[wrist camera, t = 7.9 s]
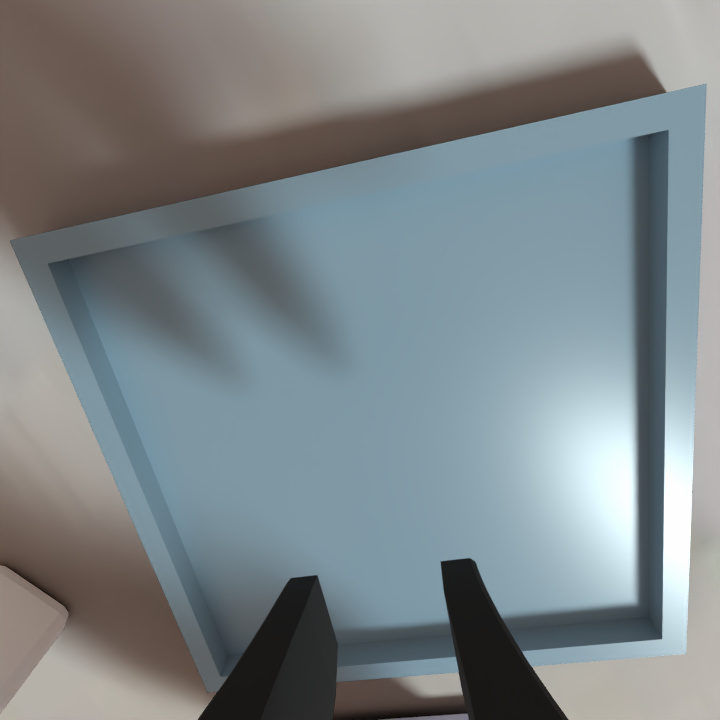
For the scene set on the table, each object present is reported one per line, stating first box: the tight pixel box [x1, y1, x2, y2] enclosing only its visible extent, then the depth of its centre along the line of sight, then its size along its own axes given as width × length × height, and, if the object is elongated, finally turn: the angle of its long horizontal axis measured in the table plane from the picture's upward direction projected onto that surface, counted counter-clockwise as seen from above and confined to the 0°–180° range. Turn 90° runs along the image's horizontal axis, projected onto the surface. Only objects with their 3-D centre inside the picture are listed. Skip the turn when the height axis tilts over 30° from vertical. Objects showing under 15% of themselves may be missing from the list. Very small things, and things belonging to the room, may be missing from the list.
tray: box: [10, 84, 706, 693], centre depth 15 cm, size 18×18×2 cm
